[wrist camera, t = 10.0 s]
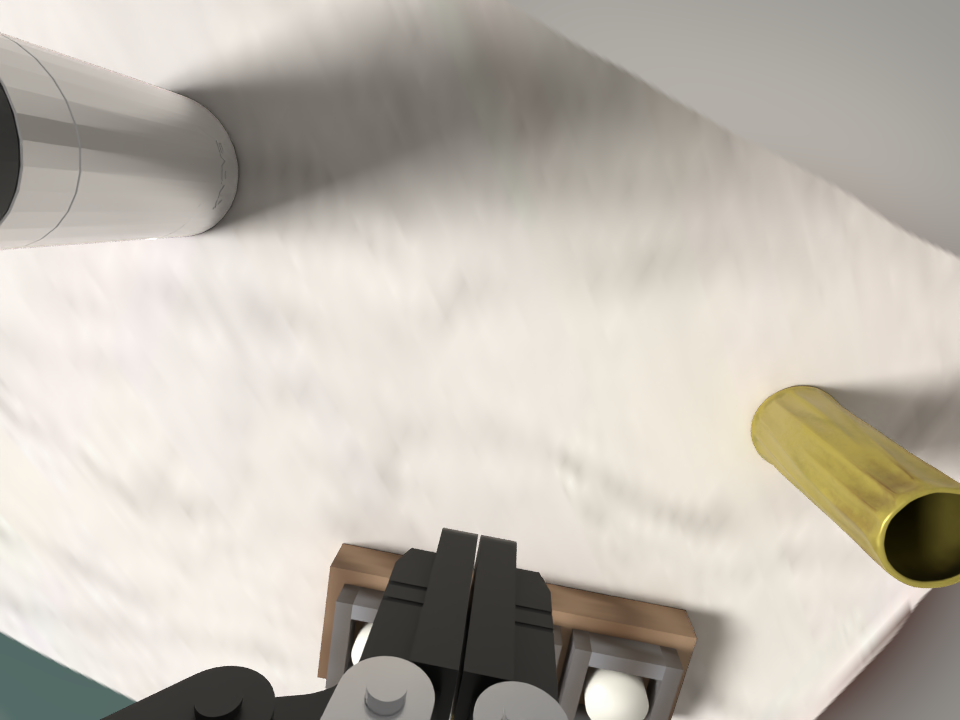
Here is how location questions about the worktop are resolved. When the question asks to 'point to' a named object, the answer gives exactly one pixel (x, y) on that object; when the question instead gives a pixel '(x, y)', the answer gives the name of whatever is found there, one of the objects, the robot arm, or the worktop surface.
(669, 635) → the button board
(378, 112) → the worktop surface
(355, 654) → the button left
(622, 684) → the button right
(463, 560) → the robot arm
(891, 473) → the vase
